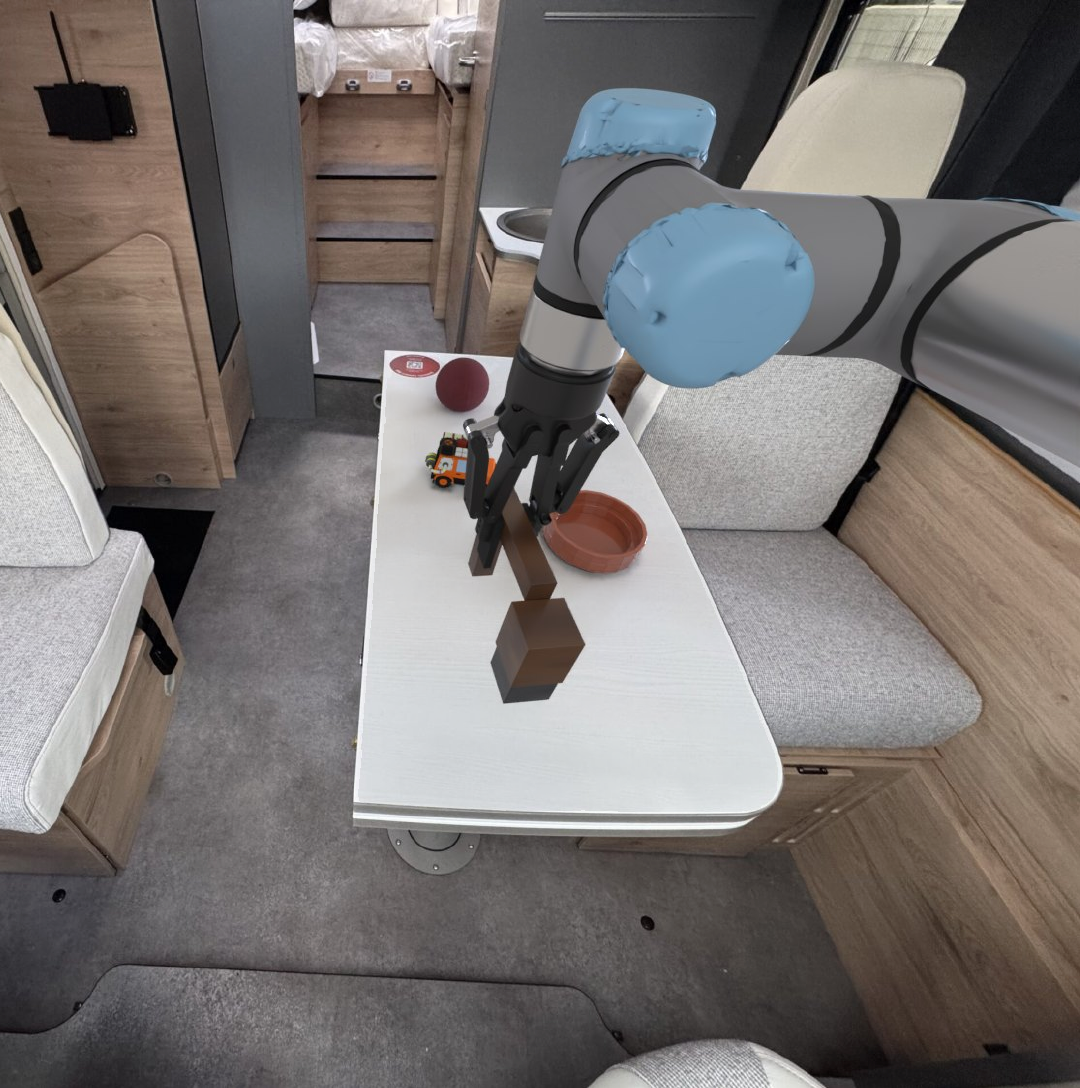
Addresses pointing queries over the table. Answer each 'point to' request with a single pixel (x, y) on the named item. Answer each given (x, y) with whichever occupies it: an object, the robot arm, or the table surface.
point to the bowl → (597, 533)
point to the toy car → (452, 461)
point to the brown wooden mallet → (530, 616)
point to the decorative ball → (462, 384)
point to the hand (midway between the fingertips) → (497, 557)
